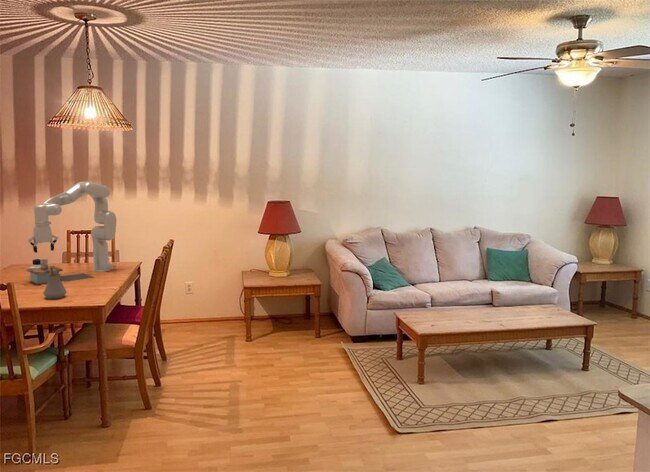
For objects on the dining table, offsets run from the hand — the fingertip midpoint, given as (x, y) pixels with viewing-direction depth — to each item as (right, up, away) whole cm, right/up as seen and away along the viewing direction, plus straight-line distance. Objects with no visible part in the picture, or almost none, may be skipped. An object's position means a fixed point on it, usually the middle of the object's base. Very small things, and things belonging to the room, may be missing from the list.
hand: (44, 251), depth 334 cm
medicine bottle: (-12, -18, +16) cm, 27 cm away
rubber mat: (+12, -18, +15) cm, 26 cm away
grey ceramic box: (0, -19, +2) cm, 19 cm away
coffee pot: (+23, -24, -33) cm, 47 cm away
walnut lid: (0, -12, +1) cm, 12 cm away
